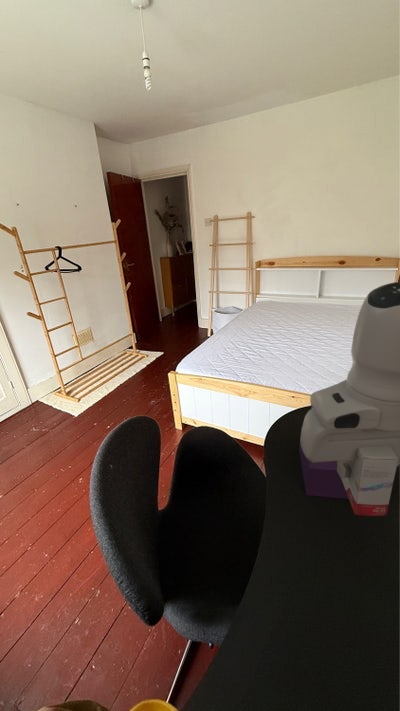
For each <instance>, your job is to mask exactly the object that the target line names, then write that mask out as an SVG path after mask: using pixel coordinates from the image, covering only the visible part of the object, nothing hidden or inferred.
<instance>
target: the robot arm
mask: <svg viewBox="0 0 400 711" xmlns="http://www.w3.org/2000/svg"><path fill="white" fill-rule="evenodd" d="M350 354H351V360H352V363H351V367H350V370H349V371H348V372H347V375H346V376H347V377H346V379H345V380H342V381H340V382H338V383H336V384H334V385H330V386H328V387H325V388H322V389H319V390H317V391H314V392H312V393H311V394H310V397H309V401H310V406H311V405H312V407H313V408H312V409H311V408H310V409H309V410H308V411H307V412H306V414H305V416H304V418H303V419H304V420H303V421H302V422H303V423H302V425H301V426H302V432H301V431H300V435H301V440H300V439H299V444H300V443H301V447H302V450H303V452H304V455H305V456H306V458H307V459H308V460H309V461H310V462H312V463H316V462H330V461H336V463H337V464H338V465H337V472H338V474H339V476H340V477H341V478H347V477H351V475H350V474H351V471H352V470H351V468H350V467H349V465H348V463H347V460H356V458H357V452H358V448H363V447H381V446H392V448H393V450H394V452H395V453H396V455H397V457H398V458H399V460H398V464H397V467H398V466H400V281H398V282H397V281H396V282H395V281H394V282H390V283H386V284H383V285H381V286H380V285H379V286H378V287H376V288H374V289H372V290H371V291H369V293H368V294H367V295H366V297H365V298H364V300H363V302H362V304H361V307H360V309H359V312H358V315H357V318H356V322H355V326H354V331H353V336H352V343H351V349H350Z"/></svg>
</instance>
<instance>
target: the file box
mask: <svg viewBox="0 0 400 711" xmlns="http://www.w3.org/2000/svg"><path fill="white" fill-rule="evenodd" d="M302 426H303V425H301V426H300V427H301V428H300V433H301V432H302ZM300 440H301V434H300V437H299V441H300ZM298 446H299V447H298V451H299V458H300V465H301V470H302V476H303V484H304V491H305V495H306V496H312V497H322V498H331V499H341V500H342V499H343V500H349V498H348V495H347V492H346V490H345V487H344V484H343V482H342V479H341V477H340V476H339V474H338V472H337V470H325V469H313V468H309V460H308V459H307V458H306V456H305V455H304V452H303V450H302V447H301V443H300V442H299V445H298Z"/></svg>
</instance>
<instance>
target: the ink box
mask: <svg viewBox="0 0 400 711" xmlns="http://www.w3.org/2000/svg"><path fill="white" fill-rule="evenodd" d="M398 460H399V458H398V457H397V455H396V453H395V452H394V450H393V448H392V446H381V447H363V448H358V452H357V458H356V460H347V463H348V465H349V467H350V468H351V470H352V471H351V474H350V475H351V477H347V478H341V479H342V482H343V484H344V487H345V490H346V492H347V495H348V498H349V499H348V501H349V504H350V506H351V508H352V510H353V511H352V512H353V514H354V515H356V516H364V517H384V516H385V517H386V516H387V515H388V510H389V506H390V500H391V495H392V490H393V485H394V481H395V476H396V472H397V467H398V466H397V464H398Z"/></svg>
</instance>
